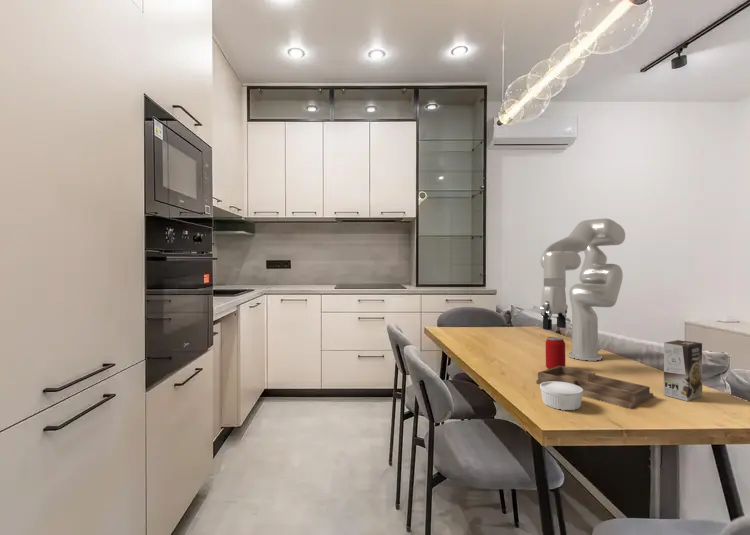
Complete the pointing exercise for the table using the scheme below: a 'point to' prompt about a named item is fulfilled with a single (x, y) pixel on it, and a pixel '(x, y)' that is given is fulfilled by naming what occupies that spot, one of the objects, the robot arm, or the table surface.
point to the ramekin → (561, 395)
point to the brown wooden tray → (599, 386)
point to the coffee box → (683, 369)
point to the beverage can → (555, 352)
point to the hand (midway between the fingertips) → (554, 328)
